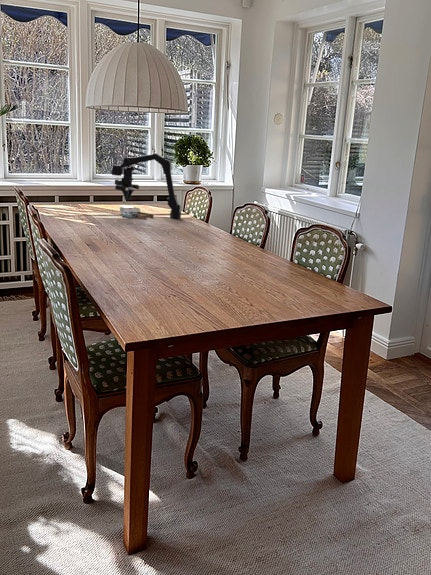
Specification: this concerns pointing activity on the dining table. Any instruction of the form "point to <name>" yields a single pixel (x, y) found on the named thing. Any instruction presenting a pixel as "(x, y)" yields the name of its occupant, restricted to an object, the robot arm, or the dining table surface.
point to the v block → (129, 215)
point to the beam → (144, 215)
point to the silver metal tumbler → (129, 209)
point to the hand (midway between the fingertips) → (126, 200)
